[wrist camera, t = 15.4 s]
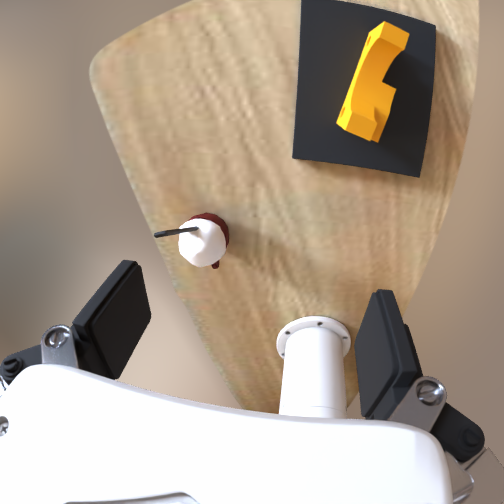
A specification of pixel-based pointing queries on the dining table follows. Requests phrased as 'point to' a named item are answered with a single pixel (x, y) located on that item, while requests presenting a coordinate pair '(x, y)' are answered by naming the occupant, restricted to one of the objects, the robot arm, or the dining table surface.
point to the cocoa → (201, 239)
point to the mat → (340, 78)
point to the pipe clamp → (372, 84)
